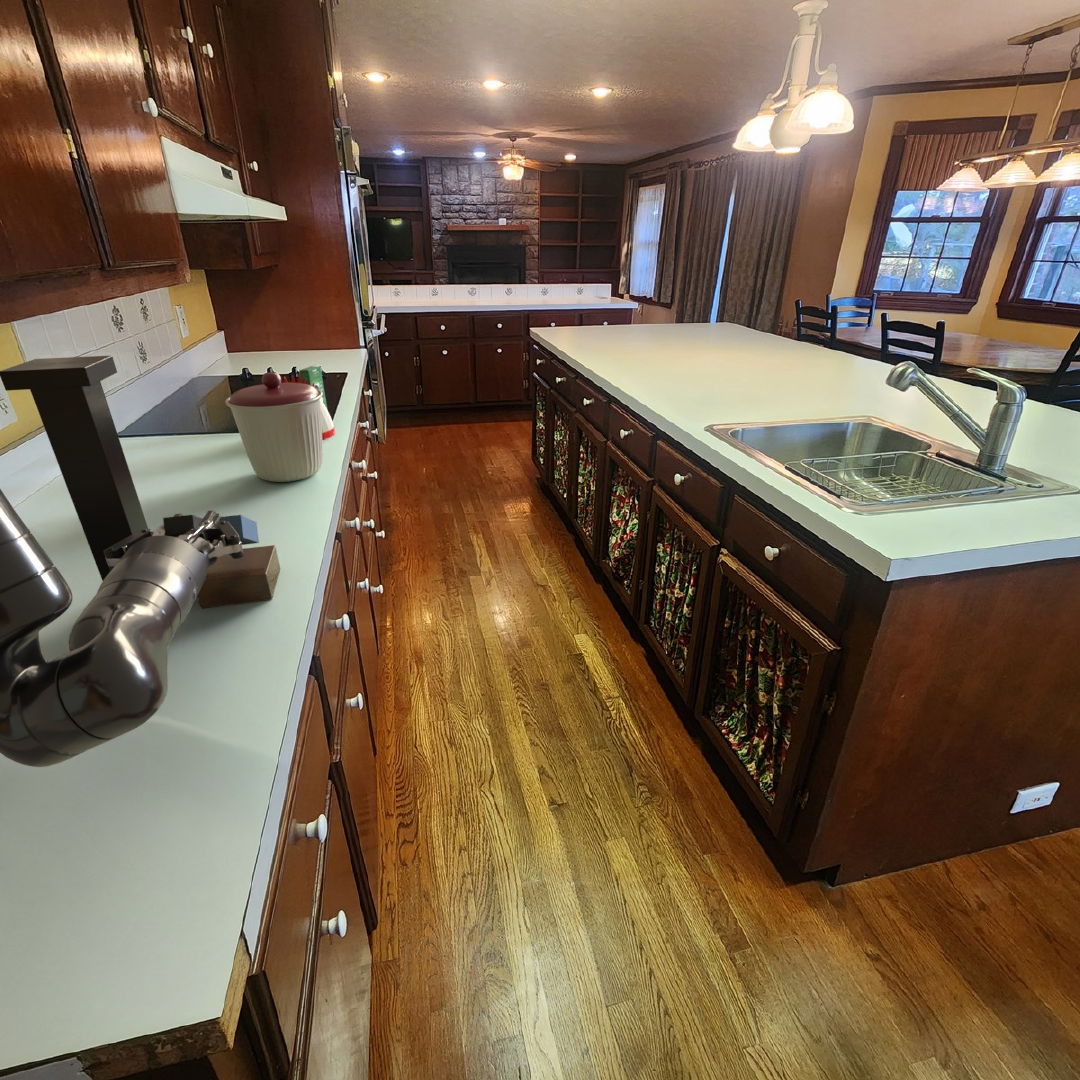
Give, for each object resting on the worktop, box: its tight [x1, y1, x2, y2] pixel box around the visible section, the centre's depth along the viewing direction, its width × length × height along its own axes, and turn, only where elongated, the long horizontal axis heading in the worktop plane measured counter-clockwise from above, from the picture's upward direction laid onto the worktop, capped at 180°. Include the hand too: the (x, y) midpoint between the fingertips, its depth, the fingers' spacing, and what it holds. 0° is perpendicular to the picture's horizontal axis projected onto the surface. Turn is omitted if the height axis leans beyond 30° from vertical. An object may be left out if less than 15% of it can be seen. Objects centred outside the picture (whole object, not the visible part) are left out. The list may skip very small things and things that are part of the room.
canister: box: [224, 371, 324, 483], centre depth 123 cm, size 18×18×21 cm
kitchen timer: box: [283, 374, 336, 441], centre depth 151 cm, size 14×14×15 cm
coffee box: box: [298, 365, 328, 409], centre depth 170 cm, size 8×3×13 cm, turn 173°
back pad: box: [162, 514, 260, 546], centre depth 76 cm, size 8×18×3 cm
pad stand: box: [0, 355, 149, 582], centre depth 74 cm, size 8×10×32 cm
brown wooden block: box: [196, 544, 281, 609], centre depth 85 cm, size 9×9×4 cm
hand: (197, 519), depth 73 cm, fingers closed on back pad, 3 cm apart
